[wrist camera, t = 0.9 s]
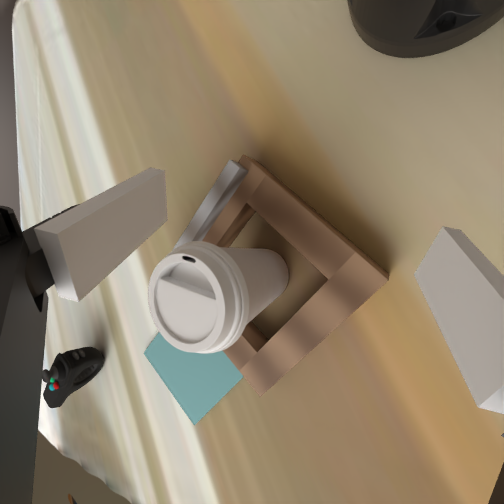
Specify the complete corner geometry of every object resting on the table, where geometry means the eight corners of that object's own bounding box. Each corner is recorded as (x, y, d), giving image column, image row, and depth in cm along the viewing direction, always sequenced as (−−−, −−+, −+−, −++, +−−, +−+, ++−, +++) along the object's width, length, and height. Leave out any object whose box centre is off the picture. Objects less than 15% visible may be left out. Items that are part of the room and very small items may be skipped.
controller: (115, 349, 50) (55, 375, 42) (94, 390, 55) (36, 422, 46) (102, 333, 52) (42, 355, 43) (83, 374, 56) (25, 402, 47)
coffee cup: (316, 266, 31) (258, 295, 18) (274, 326, 34) (198, 388, 21) (255, 221, 34) (167, 218, 21) (221, 280, 38) (127, 308, 24)
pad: (186, 297, 41) (183, 298, 40) (247, 372, 37) (245, 374, 36) (146, 351, 46) (143, 353, 46) (196, 422, 42) (194, 425, 42)
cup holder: (257, 161, 34) (233, 150, 29) (389, 274, 28) (387, 284, 23) (180, 273, 41) (151, 280, 36) (272, 382, 35) (252, 406, 30)
